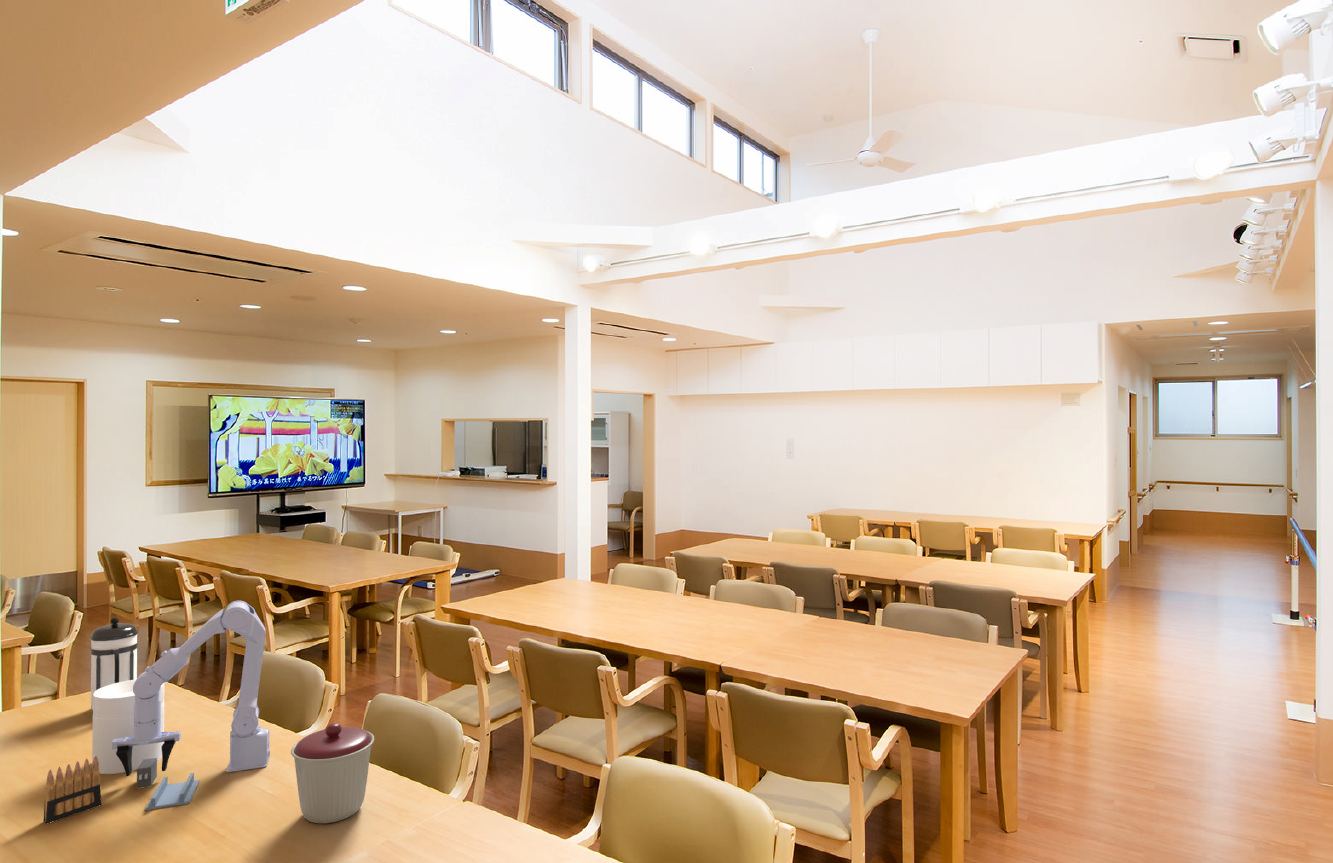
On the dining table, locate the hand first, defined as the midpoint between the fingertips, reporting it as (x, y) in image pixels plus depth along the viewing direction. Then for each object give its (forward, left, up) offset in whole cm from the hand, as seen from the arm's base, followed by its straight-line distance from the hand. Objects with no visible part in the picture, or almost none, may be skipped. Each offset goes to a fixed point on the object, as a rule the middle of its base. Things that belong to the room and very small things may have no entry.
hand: (146, 772), depth 190 cm
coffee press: (+23, -64, -3) cm, 68 cm away
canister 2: (-45, +35, -3) cm, 57 cm away
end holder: (-8, +11, -3) cm, 14 cm away
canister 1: (+8, -17, -3) cm, 19 cm away
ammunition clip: (+12, +12, -3) cm, 17 cm away
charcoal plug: (0, 0, -3) cm, 3 cm away
